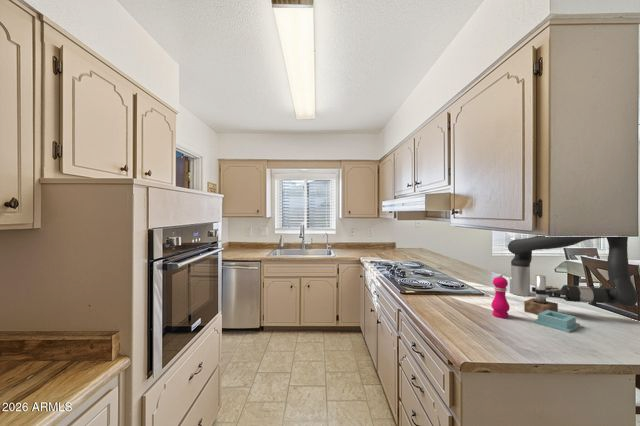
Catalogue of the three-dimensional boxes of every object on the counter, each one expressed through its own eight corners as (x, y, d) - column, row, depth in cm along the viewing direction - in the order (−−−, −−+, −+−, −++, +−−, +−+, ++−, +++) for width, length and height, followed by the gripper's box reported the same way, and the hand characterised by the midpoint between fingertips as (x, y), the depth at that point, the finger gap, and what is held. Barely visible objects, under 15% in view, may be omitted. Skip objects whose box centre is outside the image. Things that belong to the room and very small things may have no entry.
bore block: (524, 311, 137) (524, 301, 137) (533, 307, 142) (533, 298, 142) (549, 317, 128) (549, 306, 128) (557, 313, 133) (557, 303, 133)
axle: (534, 312, 136) (534, 275, 136) (537, 310, 138) (537, 274, 138) (544, 314, 132) (543, 277, 132) (547, 312, 134) (547, 276, 134)
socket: (534, 322, 122) (534, 313, 122) (545, 317, 128) (545, 308, 128) (568, 332, 112) (568, 322, 112) (579, 326, 118) (579, 317, 118)
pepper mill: (489, 316, 130) (489, 273, 130) (493, 312, 135) (493, 271, 136) (508, 320, 125) (507, 276, 125) (510, 315, 131) (510, 273, 131)
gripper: (569, 282, 137) (528, 279, 143) (586, 289, 124) (540, 286, 129) (569, 297, 137) (528, 294, 143) (586, 306, 124) (540, 302, 129)
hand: (534, 290), depth 136 cm, fingers closed on axle, 4 cm apart
